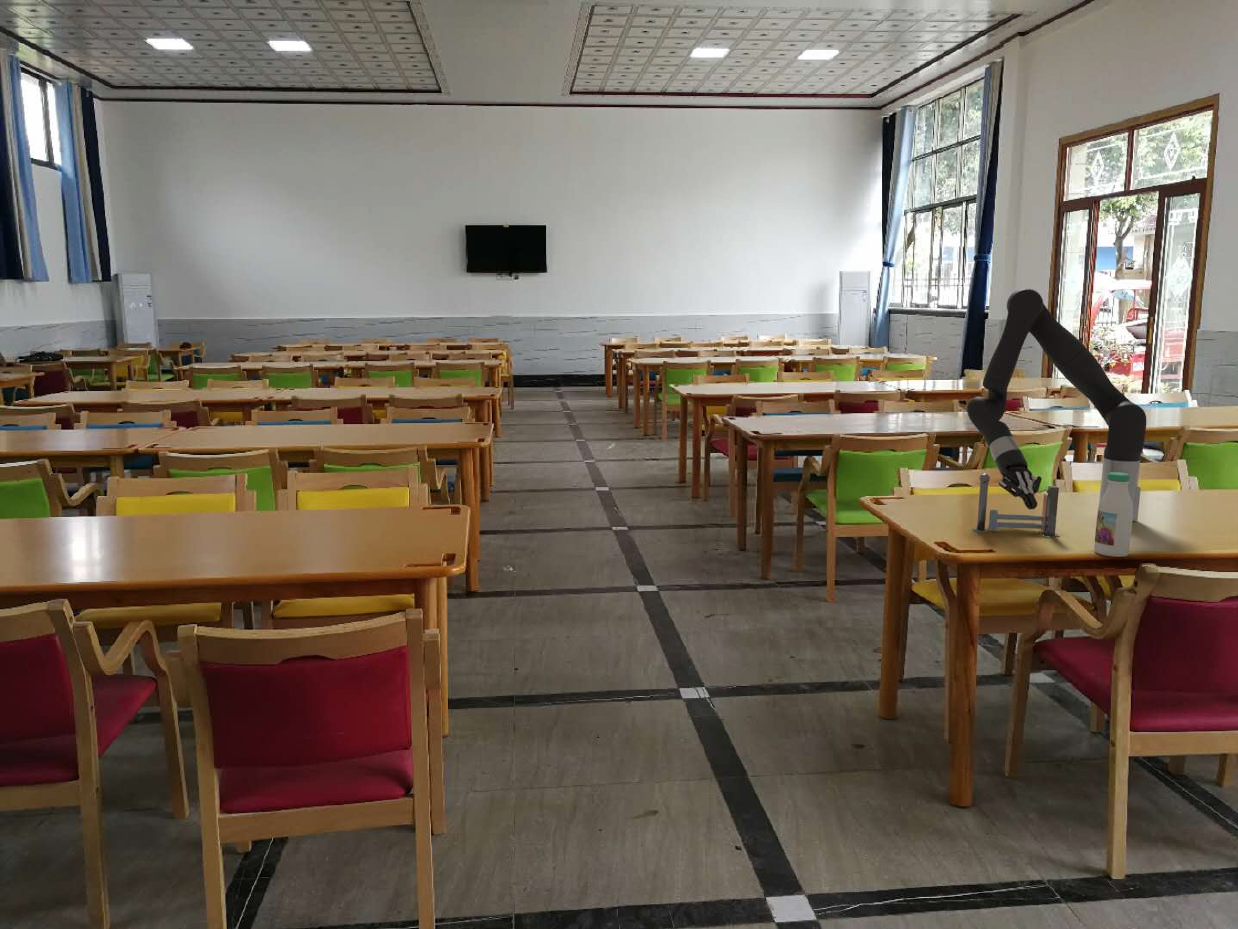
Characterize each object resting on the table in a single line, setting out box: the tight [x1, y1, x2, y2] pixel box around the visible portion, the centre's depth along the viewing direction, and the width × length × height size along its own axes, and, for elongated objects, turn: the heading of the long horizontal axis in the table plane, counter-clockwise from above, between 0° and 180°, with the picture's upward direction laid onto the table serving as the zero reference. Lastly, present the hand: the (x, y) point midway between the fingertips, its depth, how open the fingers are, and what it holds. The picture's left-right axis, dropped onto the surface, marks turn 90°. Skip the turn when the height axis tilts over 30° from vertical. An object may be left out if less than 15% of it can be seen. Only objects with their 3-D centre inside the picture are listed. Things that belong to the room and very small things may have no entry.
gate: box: [988, 492, 1048, 532], centre depth 253 cm, size 16×2×10 cm, turn 83°
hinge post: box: [972, 473, 991, 534], centre depth 254 cm, size 4×4×16 cm
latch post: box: [1038, 485, 1061, 538], centre depth 250 cm, size 4×4×13 cm
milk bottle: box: [1093, 472, 1134, 558], centre depth 231 cm, size 8×8×20 cm
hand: (1033, 507), depth 258 cm, fingers closed
